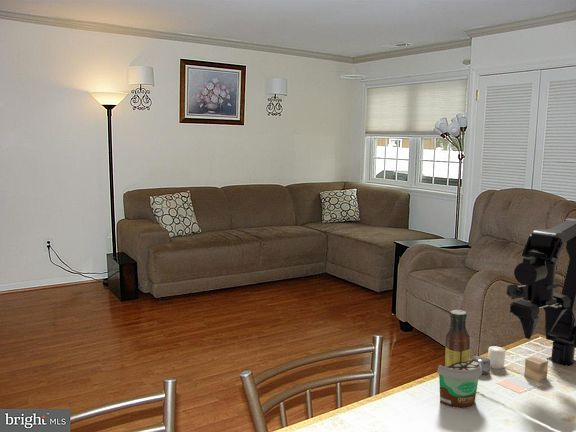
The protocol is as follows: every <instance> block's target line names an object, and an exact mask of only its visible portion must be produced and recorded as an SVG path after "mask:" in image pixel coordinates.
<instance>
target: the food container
mask: <svg viewBox="0 0 576 432" xmlns="http://www.w3.org/2000/svg"><path fill="white" fill-rule="evenodd" d="M472 357H473V358H472ZM472 357H471V358H472V360H471V359H470V361H467V362H457V363H454V364H452V365H450V366H447V367H445V365H444V366H443V365H441V364H438V367H437V371H436V373H437V374H438V375H439V376H438V378H439V382H438V383H439V403H441V404H442V405H444V406H447V407H449V408H455V409H467V408H471V407H473V406H474V405H475V403H476V397H477V391H478V384H479V383H478V382H479V378H480V377H481V376H482V375H481V374H482V367H481V364H480V361H479V360H478V359H477V358H475V357H474V356H472Z"/></svg>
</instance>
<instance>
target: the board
mask: <svg viewBox="0 0 576 432" xmlns="http://www.w3.org/2000/svg"><path fill="white" fill-rule="evenodd" d="M553 381H554V380H553V379H552V378H549V377H547V379H544V380H542V381H539V382H537V381H534V380H532V379H529V378H527V377H524V372H521V373H518V374H516V375H514V376H511V377H509V378H506V379H503V380H499V381H498V382H496V384H497V385H498V386H502V387H503V388H506V389H508V390H510V391H513V392H515V393H517V394H519V395H521V394H523V393H526V392H528V391H529V392H530V391H531V390H533V389H536V388H538V387H541V386H543V385H546V384H547V383H550V382H553Z"/></svg>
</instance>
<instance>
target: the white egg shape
mask: <svg viewBox="0 0 576 432" xmlns="http://www.w3.org/2000/svg"><path fill="white" fill-rule="evenodd" d="M487 358H488V359H489V360H490V369H491V368H492V369H495V370H496V369H497V370H502V369H504V368H505V360H506V349H505V348H504V347H501V346H495V345H493V346H489V347H488V352H487Z"/></svg>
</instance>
